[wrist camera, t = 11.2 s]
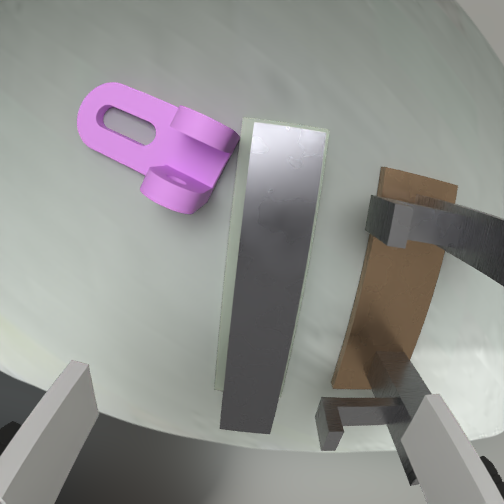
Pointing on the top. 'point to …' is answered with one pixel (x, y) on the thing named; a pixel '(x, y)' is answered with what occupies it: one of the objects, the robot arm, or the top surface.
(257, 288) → the rail
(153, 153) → the bracket
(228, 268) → the mat
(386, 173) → the hook rack
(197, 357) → the top surface
